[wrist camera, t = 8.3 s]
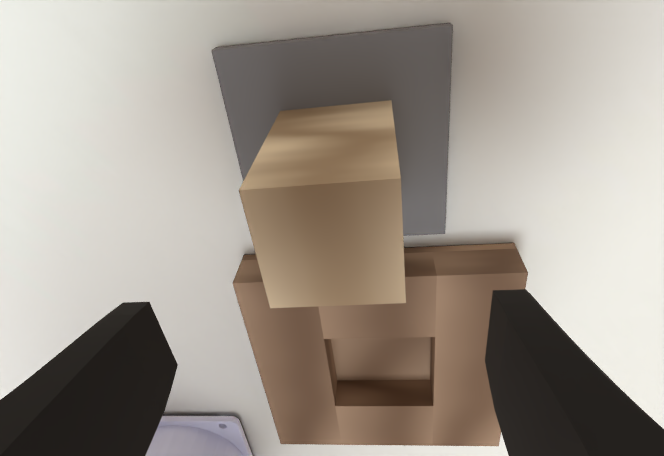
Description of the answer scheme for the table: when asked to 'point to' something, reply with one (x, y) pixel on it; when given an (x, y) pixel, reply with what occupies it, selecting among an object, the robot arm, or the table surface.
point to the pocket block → (386, 354)
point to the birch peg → (328, 207)
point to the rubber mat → (353, 99)
